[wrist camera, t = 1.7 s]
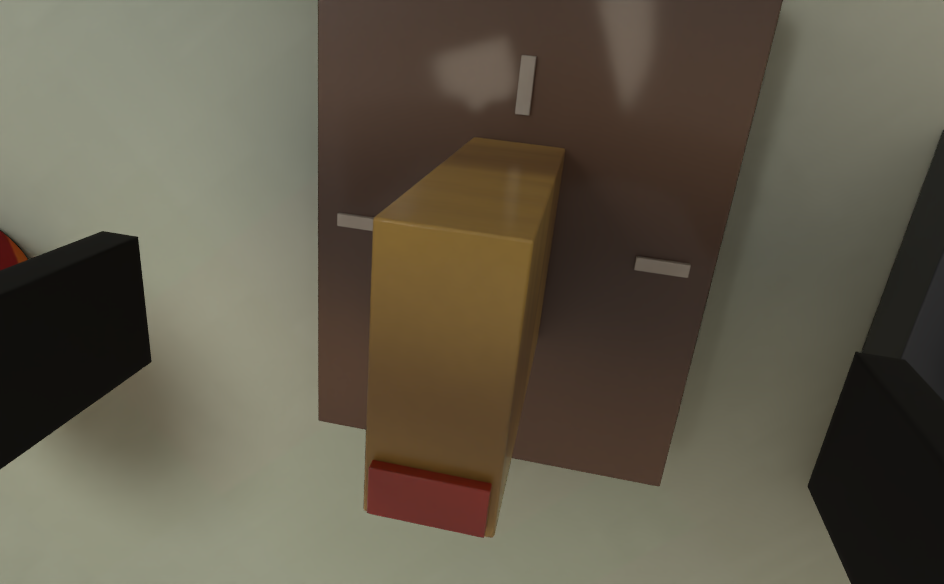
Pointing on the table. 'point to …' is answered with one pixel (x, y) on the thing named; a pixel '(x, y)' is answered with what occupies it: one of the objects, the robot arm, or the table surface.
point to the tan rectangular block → (456, 332)
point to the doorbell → (917, 288)
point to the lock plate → (580, 196)
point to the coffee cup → (9, 252)
